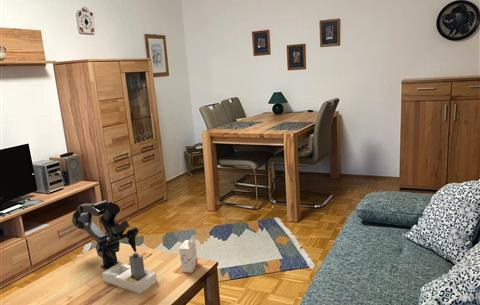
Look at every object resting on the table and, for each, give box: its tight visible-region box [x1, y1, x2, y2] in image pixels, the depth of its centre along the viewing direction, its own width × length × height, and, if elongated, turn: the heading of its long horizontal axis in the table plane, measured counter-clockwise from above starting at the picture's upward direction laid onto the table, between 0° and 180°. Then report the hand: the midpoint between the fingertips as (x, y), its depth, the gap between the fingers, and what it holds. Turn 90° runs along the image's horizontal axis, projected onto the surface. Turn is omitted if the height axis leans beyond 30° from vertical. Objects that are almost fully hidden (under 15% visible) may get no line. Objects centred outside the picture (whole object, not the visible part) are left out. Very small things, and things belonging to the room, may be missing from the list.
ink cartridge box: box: [178, 234, 198, 274], centre depth 175 cm, size 9×5×15 cm, turn 168°
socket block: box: [101, 261, 158, 294], centre depth 168 cm, size 22×10×4 cm, turn 59°
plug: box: [128, 252, 145, 281], centre depth 164 cm, size 4×4×14 cm
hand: (126, 255), depth 169 cm, fingers open, 9 cm apart
